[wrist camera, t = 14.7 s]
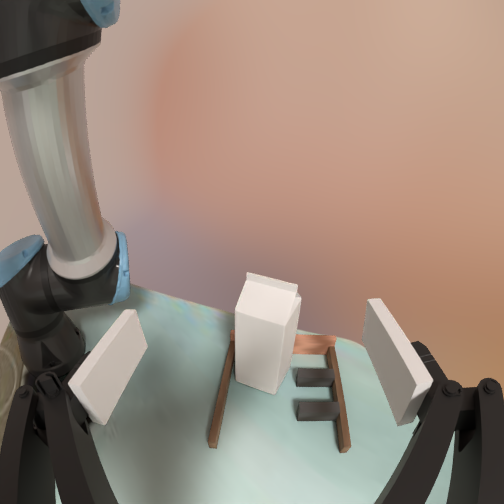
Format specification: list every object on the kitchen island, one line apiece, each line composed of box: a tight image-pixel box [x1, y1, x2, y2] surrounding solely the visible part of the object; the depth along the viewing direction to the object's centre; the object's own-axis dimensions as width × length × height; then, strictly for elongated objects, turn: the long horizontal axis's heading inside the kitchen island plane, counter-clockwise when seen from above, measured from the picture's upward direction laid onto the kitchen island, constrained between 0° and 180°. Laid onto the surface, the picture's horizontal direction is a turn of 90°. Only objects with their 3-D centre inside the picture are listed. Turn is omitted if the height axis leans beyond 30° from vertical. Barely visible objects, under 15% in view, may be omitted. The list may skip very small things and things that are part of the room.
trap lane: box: [208, 330, 351, 453], centre depth 39 cm, size 19×22×4 cm
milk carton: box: [235, 272, 301, 395], centre depth 40 cm, size 7×7×19 cm
